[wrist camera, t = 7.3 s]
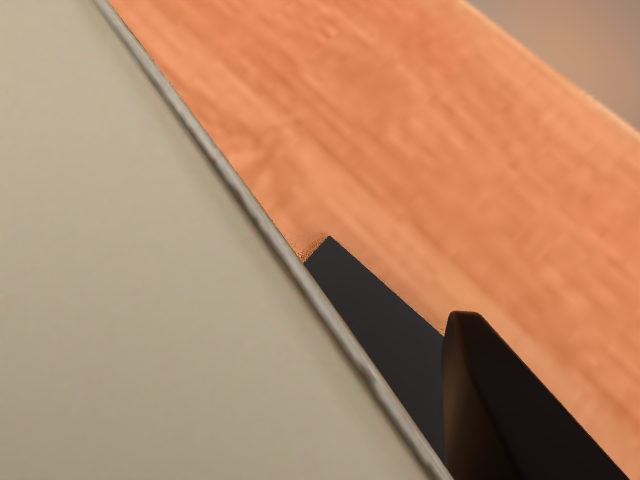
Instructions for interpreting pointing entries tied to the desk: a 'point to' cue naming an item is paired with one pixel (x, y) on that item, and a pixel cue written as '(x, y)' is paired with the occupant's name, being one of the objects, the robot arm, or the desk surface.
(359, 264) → the mat
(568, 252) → the desk surface
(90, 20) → the cosmetic box
